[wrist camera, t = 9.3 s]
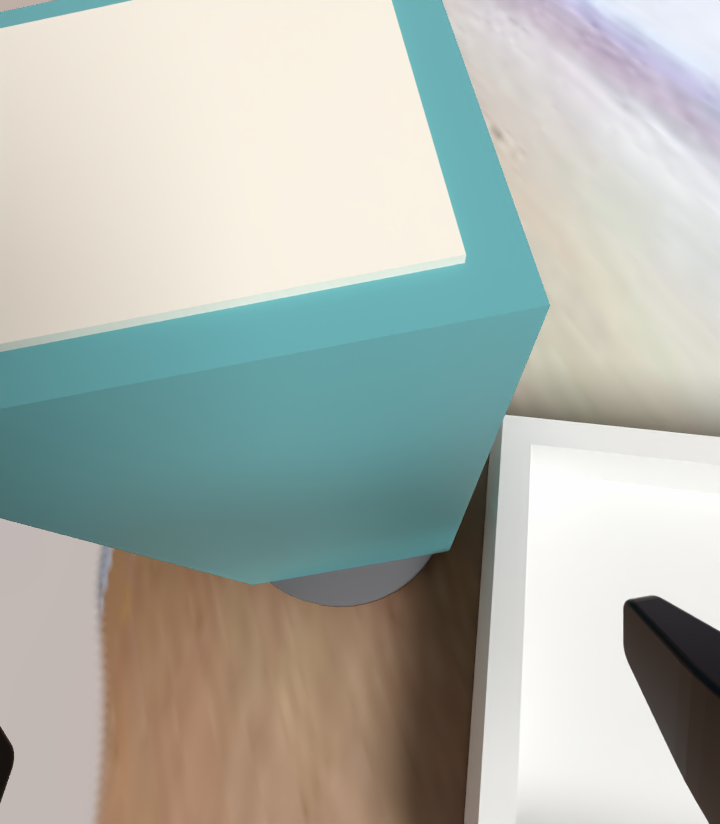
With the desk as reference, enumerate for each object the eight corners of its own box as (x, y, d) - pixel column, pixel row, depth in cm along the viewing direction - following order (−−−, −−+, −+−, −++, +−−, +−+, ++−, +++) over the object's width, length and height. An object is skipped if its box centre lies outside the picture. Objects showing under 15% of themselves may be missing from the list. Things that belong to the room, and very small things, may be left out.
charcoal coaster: (436, 624, 16) (437, 624, 15) (218, 588, 17) (207, 585, 16) (457, 411, 18) (459, 399, 18) (266, 391, 20) (258, 379, 19)
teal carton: (449, 550, 16) (553, 297, 4) (252, 585, 16) (-258, 449, 4) (416, 400, 18) (414, -89, 6) (242, 432, 18) (-121, 26, 6)
